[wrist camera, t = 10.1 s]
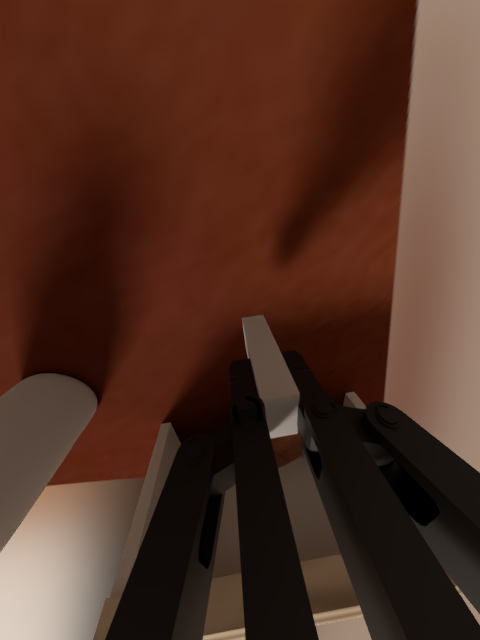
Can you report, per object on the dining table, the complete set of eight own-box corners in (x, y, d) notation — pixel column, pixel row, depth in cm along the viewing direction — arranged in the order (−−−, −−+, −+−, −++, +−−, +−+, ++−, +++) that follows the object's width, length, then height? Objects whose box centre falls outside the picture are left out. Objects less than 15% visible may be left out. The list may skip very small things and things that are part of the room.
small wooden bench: (160, 421, 24) (87, 658, 11) (354, 389, 25) (507, 576, 12) (179, 457, 28) (143, 659, 15) (345, 428, 29) (449, 599, 16)
